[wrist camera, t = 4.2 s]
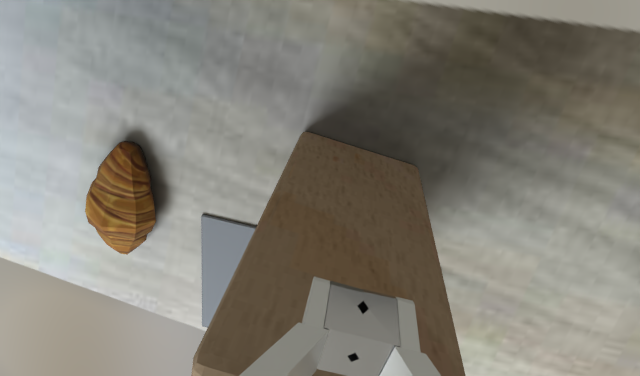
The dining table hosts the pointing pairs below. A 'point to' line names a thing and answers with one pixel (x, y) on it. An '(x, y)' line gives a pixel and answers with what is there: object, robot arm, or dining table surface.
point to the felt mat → (220, 259)
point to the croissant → (122, 199)
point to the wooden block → (332, 255)
